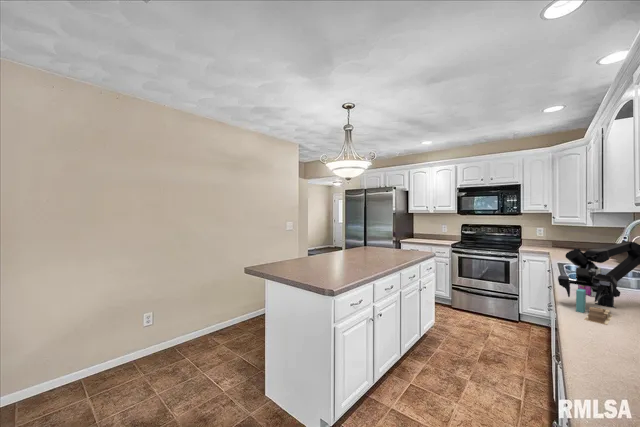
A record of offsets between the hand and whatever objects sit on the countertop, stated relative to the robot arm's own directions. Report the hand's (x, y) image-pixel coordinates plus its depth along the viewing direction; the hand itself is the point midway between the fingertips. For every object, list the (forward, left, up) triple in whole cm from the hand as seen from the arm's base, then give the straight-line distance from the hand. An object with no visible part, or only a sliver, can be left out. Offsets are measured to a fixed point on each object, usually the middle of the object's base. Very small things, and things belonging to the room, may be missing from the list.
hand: (581, 298), depth 132 cm
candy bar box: (-42, +13, -7) cm, 44 cm away
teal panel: (+1, 0, -7) cm, 7 cm away
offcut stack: (+11, +2, -5) cm, 13 cm away
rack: (+7, +4, -7) cm, 10 cm away
